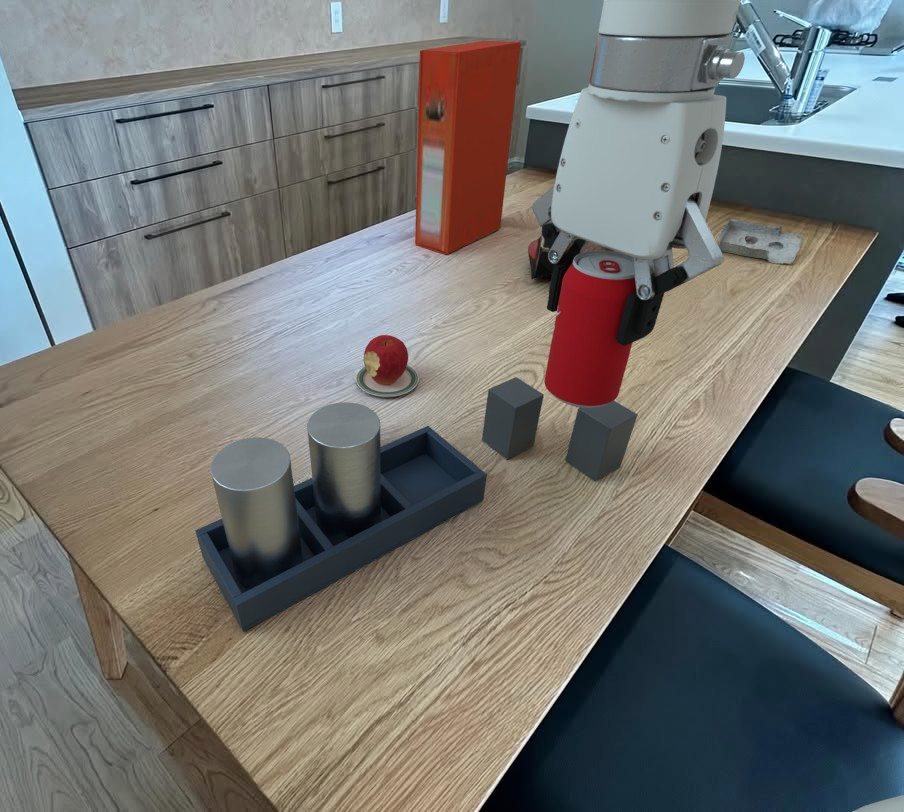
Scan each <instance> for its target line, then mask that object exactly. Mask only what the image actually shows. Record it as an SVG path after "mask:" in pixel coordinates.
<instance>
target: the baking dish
mask: <svg viewBox="0 0 904 812" xmlns="http://www.w3.org/2000/svg"><path fill="white" fill-rule="evenodd" d="M596 250H606V251H614V250H611V249H608V248H606V247H603V246H600V245H597V244H594V243H591V242H589V243H588V244H587V246H586V247H585V249H584V251H583V252H587V251H596ZM549 251H550V250H549V248H548V246H547V244H546V242H545V240H544V237H543V235H542V233H541V236H540V237H538V238H537V239H535V240H533V241H531V242H530V243H529V244H528V245H527V254H528V261H529V266H530V276H531V278H530V279H531V280H536V279H540V278H543V277H548V276H552V271H553V266H554V264H552V263H551V262H550V261H549V259H548V253H549ZM583 252H582V253H583ZM615 252H617V251H615Z"/></svg>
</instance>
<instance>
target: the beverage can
mask: <svg viewBox="0 0 904 812" xmlns="http://www.w3.org/2000/svg"><path fill="white" fill-rule="evenodd" d="M634 293H636V284H635V275H634V266H633V257H632V256H629V255H626V254H623V253H620V252H615V251H606V250H596V251H587V252H583V253H580V254H578V255H576V256H575V258H574V260H573V263H572V265H571V266H570V267H569V269H568V270H567V271H566V273H565V275H564V277H563V281H562V286H561V292H560V297H559V303H558V308H557V311H556V314H555V320H554V325H553V331H552V336H551V340H550V341H551V342H550V347H549V352H548V358H547V364H546V370H545V375H544V379H543V381H544V382H543V383H544V386H545V388H546V390H547V391H548V392H549V394H551V395H552V396H553V397H554V398H555V399H557V400H558V401H560V402H562V403H564V404H565V405H569V406H572V407H575V408H580V407H581V408H593V407H598V406H602V405H606V404H608V403H610V402H612V401H616V399H617V398H618V396H619V395H620V391H621V387H622V385H623V380H624V377H625V372H626V368H627V365H628V361H629V359H630V355H631V351H632V348H633V347H632V346H633V344H634V342H633V343H630V344H628V345H626V346H623V345H621V344H619V343H617V340H616V338H617V334H618V330H619V326H620V322H621V318H622V315H623V311H624V307H625V303H626V299H627V297H628V296H629V295H632V294H634Z"/></svg>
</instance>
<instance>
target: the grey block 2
mask: <svg viewBox="0 0 904 812" xmlns="http://www.w3.org/2000/svg"><path fill="white" fill-rule="evenodd" d="M638 416H639V415H638V413H636V412H634V411H633V410H631V409H630V408H627V407H626V406H624V405H623V404H621V403H620V402H618V401H616V400H614V401H612V402H610V403H608V404H606V405H602V406H598V407H593V408H581V407H577V410H576V416H575V419H574V422H573V423H574V424H573V428H572V431H571V436H570V439H569V440H570V441H569V444H568V448H567V452H566V456H565V459H564V460H565V462H567V463H568V464H570V465H571V466H572V467H573V468H575V469H577V470H578V471H579V472H581V473H582V474H584V475H585V476H586V477H588V478H589V479H590V480H592V481H594V482H595V483H596V482H597V481H599V480H602V479H603V478H604V477H606V476H608V475H609V474H611V473H613V472H614V471H617V470H618V469H620V468H621V467H622V464H623V461H624V459H625V458H624V457H625V455H626V452H627V448H628V446H629V442H630V439H631V437H632V433H633V431H634V427H635V424H636V421H637V418H638Z"/></svg>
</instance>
